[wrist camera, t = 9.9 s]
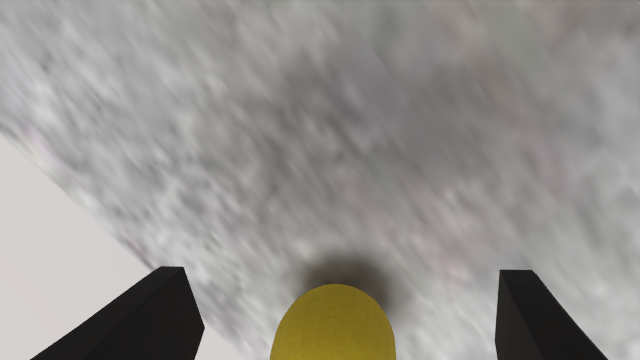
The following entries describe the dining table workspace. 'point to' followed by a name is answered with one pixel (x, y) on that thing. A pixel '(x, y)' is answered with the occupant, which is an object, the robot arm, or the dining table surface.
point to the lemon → (334, 327)
